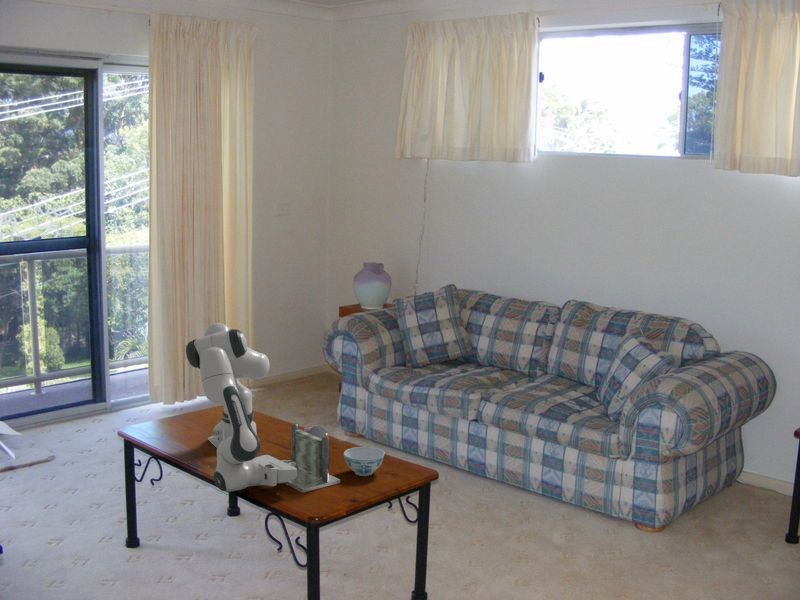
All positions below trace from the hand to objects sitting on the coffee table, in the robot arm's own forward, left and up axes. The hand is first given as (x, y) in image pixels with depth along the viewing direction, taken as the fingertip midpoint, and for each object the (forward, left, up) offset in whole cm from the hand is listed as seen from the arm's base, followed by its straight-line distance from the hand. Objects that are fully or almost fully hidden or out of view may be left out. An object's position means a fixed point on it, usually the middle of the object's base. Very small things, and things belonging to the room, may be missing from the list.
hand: (293, 463), depth 308 cm
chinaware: (+7, +26, -8) cm, 28 cm away
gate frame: (-2, +5, -7) cm, 9 cm away
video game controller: (-36, +31, -8) cm, 48 cm away
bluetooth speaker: (-18, +22, -8) cm, 29 cm away
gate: (-2, +8, -5) cm, 10 cm away
